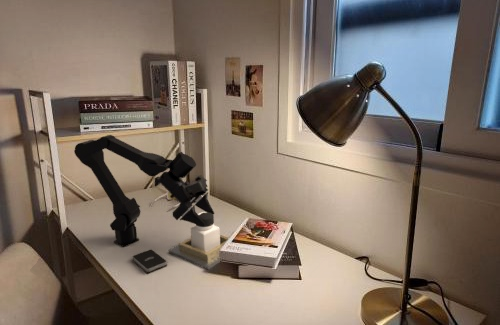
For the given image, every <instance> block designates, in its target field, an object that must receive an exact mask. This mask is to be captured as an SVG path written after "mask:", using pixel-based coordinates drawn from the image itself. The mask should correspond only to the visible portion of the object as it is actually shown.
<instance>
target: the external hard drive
mask: <svg viewBox="0 0 500 325" xmlns="http://www.w3.org/2000/svg"><path fill="white" fill-rule="evenodd" d="M131 260H132V262H134V263H135V264H136V265H137V266H138V267H139V268H140V269H141V270H143V271H144V272H145V274H148V275H149V274H152V273H155V272H156V271H158V270H162V269H163V268H166V267H167V266H168V261H167V259H165V258H164V257H162V256H161V255H160V254H159V253H158V252H156V251H155V250H154V249H152V248H151V249H150V248H149V249H148V250H144V251H142V252H139V253H137V254H133V255H132V256H131Z"/></svg>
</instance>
